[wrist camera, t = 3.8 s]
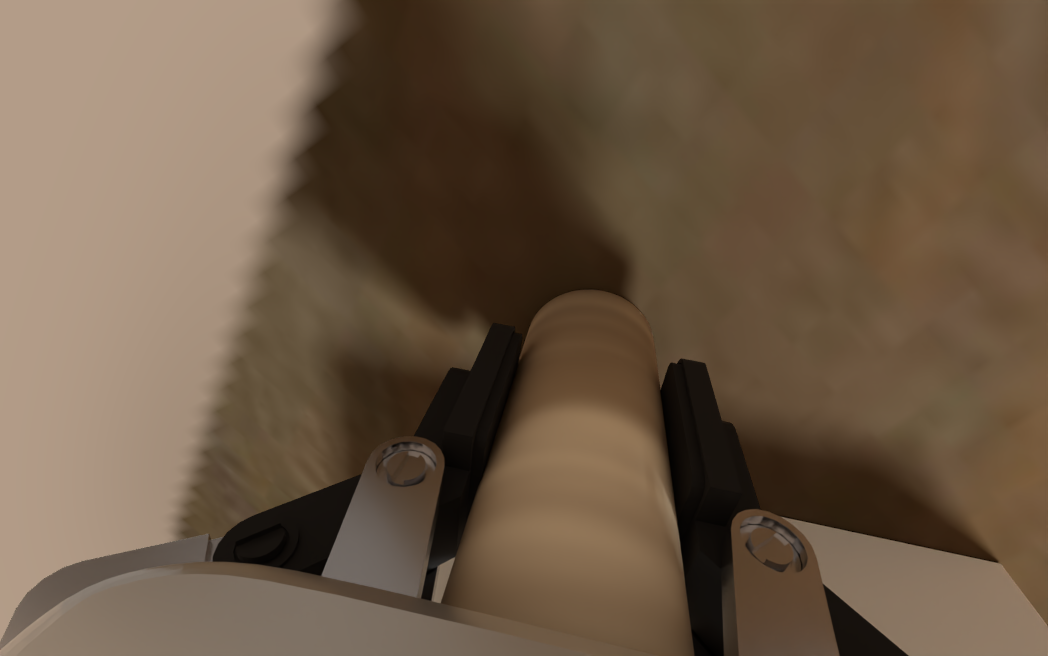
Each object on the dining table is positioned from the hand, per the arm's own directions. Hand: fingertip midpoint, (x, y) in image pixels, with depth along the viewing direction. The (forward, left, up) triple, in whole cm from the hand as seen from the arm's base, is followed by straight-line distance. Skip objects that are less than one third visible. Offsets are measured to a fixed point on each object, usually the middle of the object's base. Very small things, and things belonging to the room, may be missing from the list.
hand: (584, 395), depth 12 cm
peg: (0, 0, -2) cm, 2 cm away
